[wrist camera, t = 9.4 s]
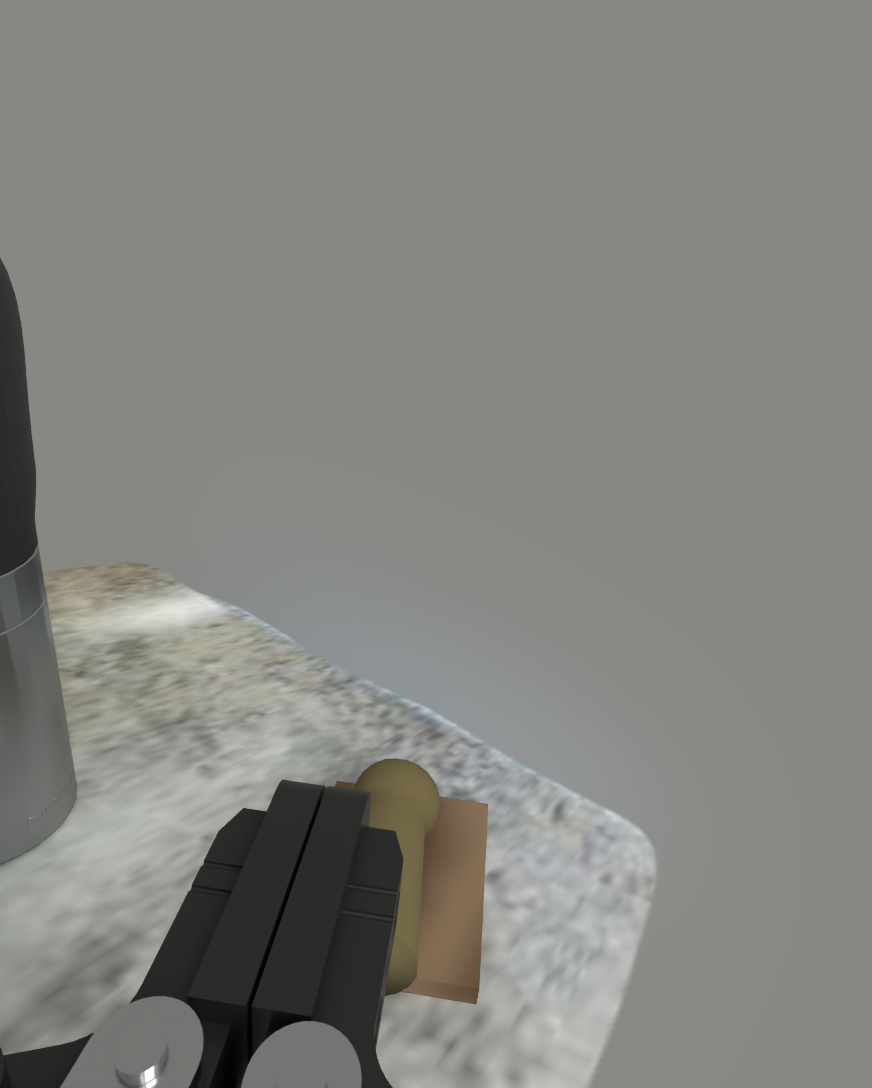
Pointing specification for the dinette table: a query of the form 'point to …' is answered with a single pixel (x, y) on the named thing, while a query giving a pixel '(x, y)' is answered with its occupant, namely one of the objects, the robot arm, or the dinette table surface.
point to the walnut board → (451, 902)
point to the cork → (403, 849)
